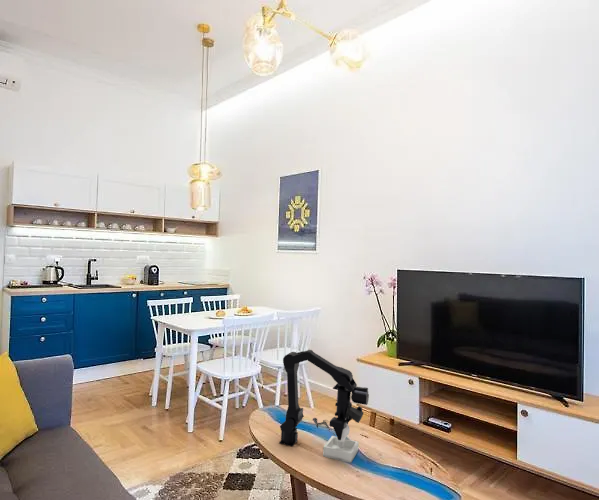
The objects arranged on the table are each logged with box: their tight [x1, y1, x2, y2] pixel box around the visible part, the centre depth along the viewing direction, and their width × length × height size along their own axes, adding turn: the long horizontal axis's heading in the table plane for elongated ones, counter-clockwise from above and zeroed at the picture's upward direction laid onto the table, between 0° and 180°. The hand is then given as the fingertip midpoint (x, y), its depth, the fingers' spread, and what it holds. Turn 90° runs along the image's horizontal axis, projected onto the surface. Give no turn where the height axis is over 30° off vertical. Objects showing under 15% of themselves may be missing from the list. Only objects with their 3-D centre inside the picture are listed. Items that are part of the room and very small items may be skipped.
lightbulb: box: [338, 423, 351, 448], centre depth 178 cm, size 6×6×11 cm
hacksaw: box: [312, 417, 331, 431], centre depth 203 cm, size 24×10×2 cm, turn 11°
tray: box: [322, 435, 359, 464], centre depth 178 cm, size 12×12×4 cm
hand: (341, 437), depth 178 cm, fingers closed on lightbulb, 6 cm apart
